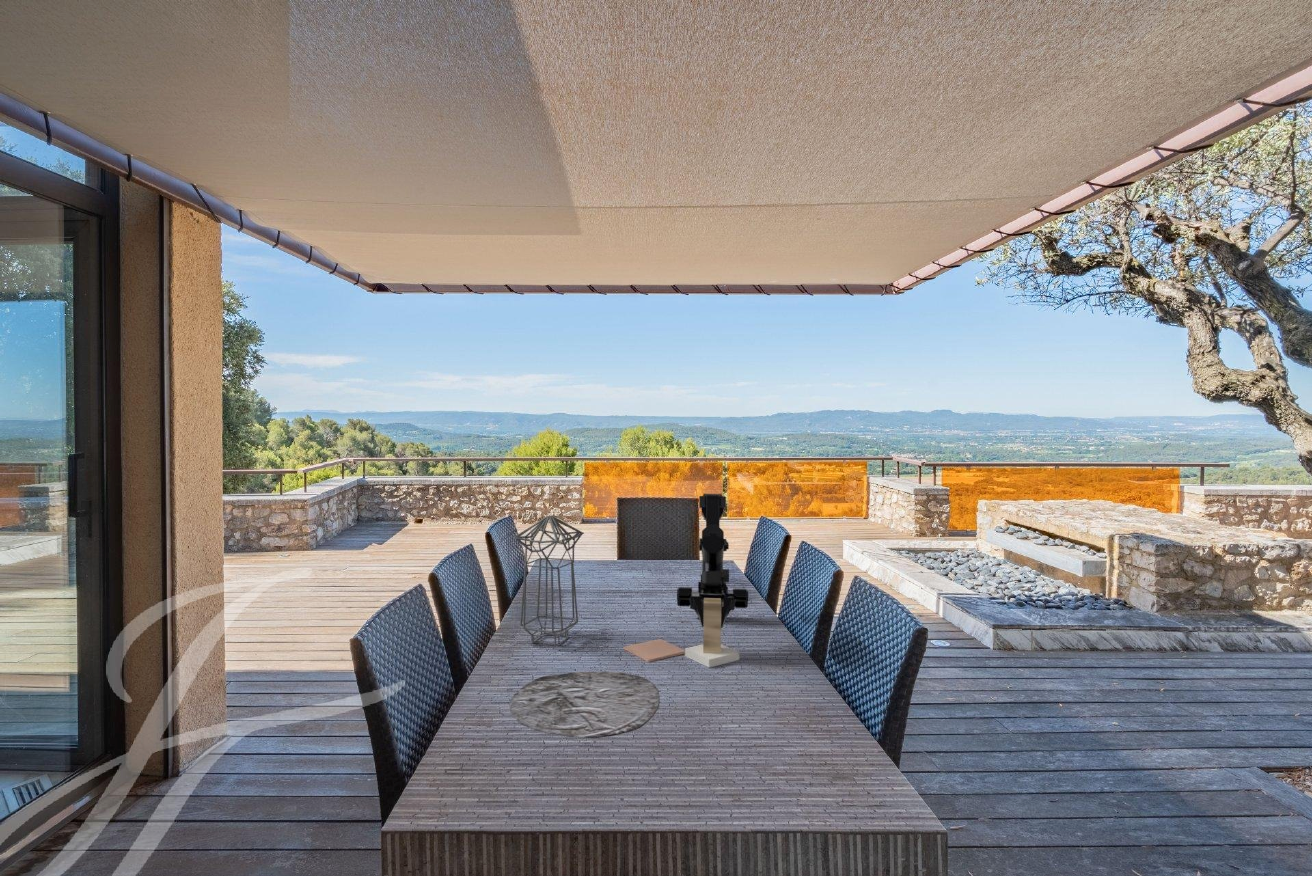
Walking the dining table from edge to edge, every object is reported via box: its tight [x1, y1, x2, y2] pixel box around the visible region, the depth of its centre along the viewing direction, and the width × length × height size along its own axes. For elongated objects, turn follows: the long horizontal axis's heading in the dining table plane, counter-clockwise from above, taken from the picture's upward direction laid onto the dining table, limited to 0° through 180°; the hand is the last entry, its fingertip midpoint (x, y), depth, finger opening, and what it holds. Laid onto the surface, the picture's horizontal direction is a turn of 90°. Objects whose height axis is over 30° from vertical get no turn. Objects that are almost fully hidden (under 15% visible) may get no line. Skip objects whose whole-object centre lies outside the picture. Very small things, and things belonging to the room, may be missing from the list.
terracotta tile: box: [623, 638, 685, 663], centre depth 182 cm, size 12×12×1 cm
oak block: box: [702, 598, 722, 653], centre depth 176 cm, size 4×4×13 cm
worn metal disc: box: [509, 670, 660, 739], centre depth 149 cm, size 33×35×1 cm
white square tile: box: [684, 643, 740, 668], centre depth 177 cm, size 10×10×2 cm
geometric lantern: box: [513, 515, 585, 646], centre depth 190 cm, size 16×16×35 cm
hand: (712, 626), depth 175 cm, fingers closed on oak block, 4 cm apart
